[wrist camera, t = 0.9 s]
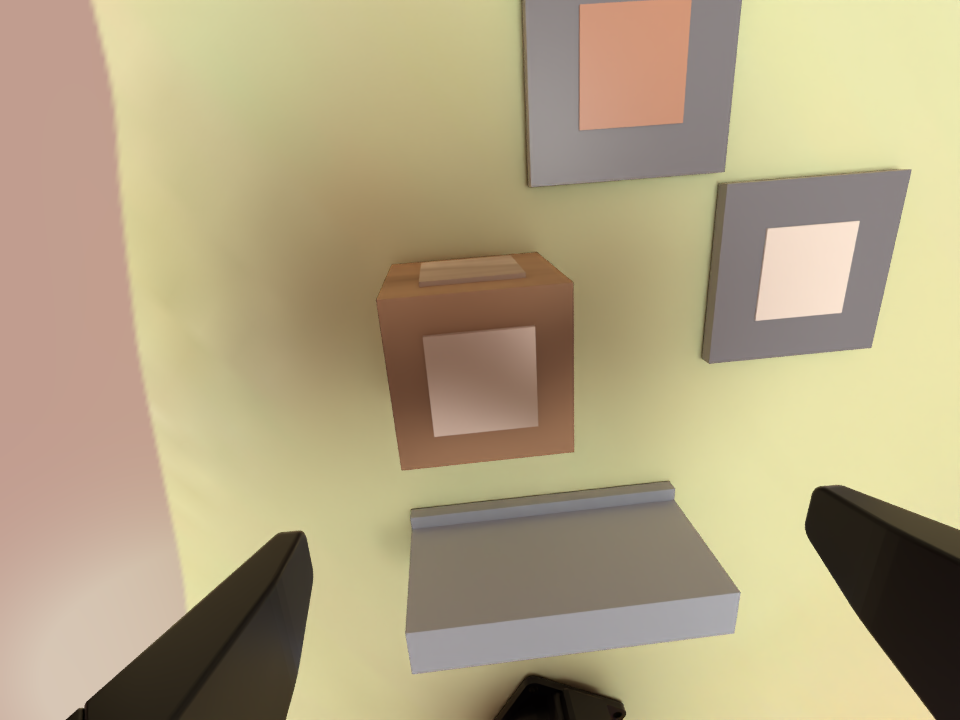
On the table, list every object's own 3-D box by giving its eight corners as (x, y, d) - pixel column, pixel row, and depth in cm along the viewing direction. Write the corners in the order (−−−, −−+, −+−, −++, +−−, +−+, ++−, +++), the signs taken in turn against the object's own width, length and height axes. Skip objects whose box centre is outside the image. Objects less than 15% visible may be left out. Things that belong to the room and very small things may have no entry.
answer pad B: (716, 171, 19) (725, 171, 18) (528, 186, 18) (531, 187, 18) (737, -63, 16) (750, -72, 15) (520, -51, 16) (524, -60, 15)
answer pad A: (860, 343, 22) (873, 348, 21) (701, 358, 21) (710, 364, 21) (897, 169, 19) (913, 169, 19) (718, 183, 19) (728, 184, 18)
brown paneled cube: (540, 383, 21) (575, 454, 16) (409, 396, 21) (401, 473, 16) (536, 247, 19) (574, 278, 14) (391, 260, 19) (374, 296, 14)
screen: (419, 564, 24) (413, 685, 18) (411, 509, 23) (403, 620, 17) (664, 536, 25) (732, 644, 19) (669, 481, 23) (742, 579, 18)
